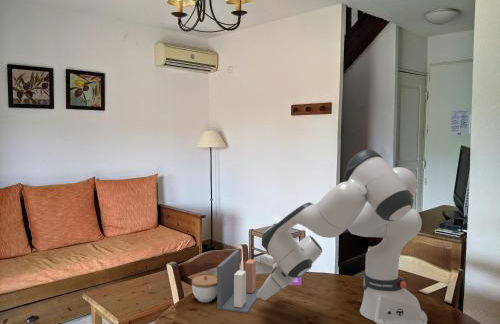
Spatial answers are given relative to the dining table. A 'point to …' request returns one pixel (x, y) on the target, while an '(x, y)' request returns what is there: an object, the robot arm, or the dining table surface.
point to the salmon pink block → (250, 275)
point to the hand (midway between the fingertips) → (257, 295)
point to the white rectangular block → (239, 288)
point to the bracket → (296, 281)
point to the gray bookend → (231, 285)
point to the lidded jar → (204, 287)
